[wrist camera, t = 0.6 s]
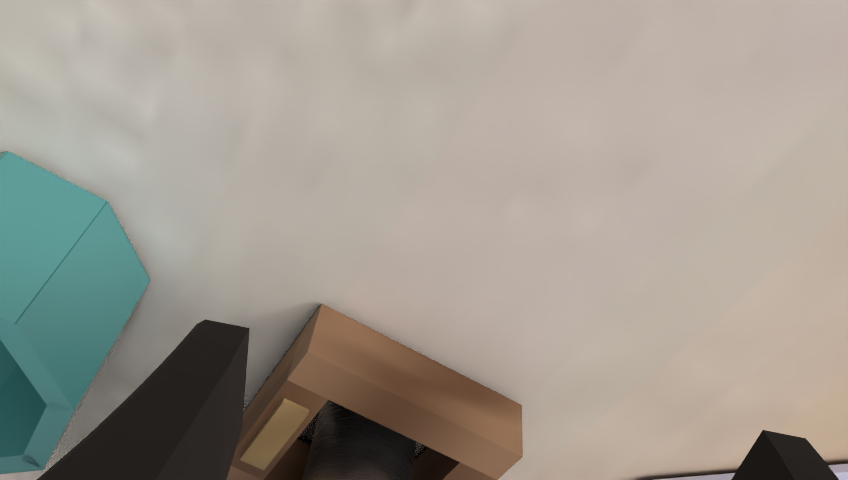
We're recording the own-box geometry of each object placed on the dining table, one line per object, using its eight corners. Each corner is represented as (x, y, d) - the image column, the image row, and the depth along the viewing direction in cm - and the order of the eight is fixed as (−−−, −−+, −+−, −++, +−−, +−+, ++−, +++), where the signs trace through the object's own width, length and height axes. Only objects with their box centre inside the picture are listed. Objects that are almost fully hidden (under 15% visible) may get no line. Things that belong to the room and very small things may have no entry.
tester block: (521, 405, 25) (522, 462, 23) (406, 516, 29) (399, 572, 27) (321, 303, 23) (306, 356, 21) (227, 435, 27) (207, 490, 25)
